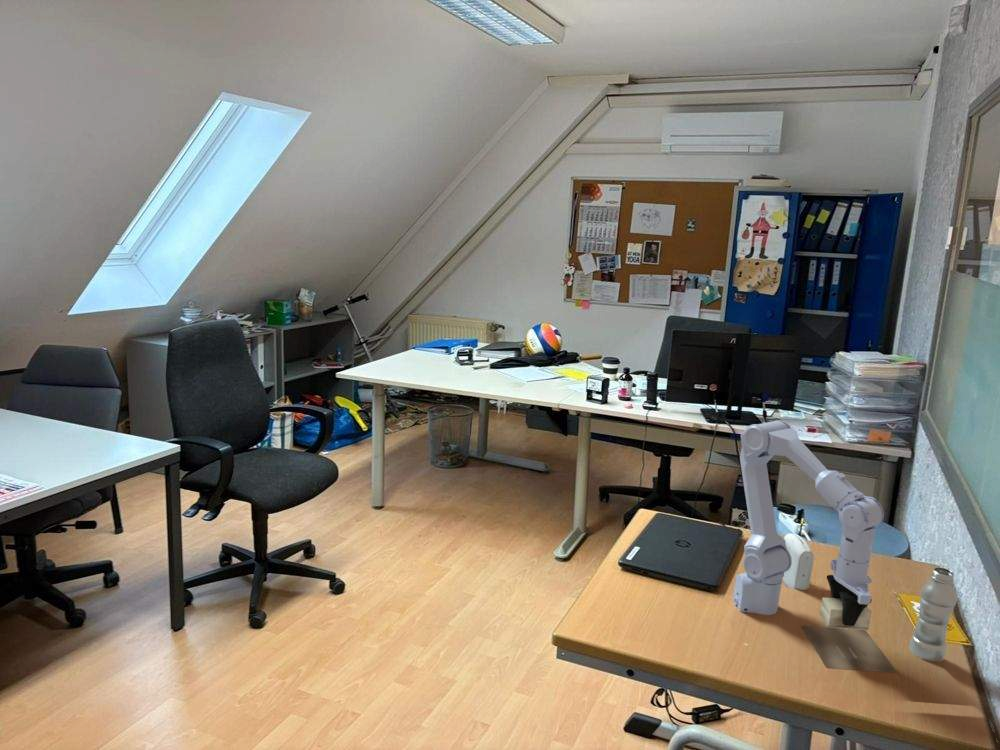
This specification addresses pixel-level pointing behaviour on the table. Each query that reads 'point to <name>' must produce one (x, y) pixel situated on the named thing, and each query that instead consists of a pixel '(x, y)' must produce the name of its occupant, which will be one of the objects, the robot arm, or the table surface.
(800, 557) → the photo printer
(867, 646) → the grey flat square block
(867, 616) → the block
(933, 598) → the plastic bottle
